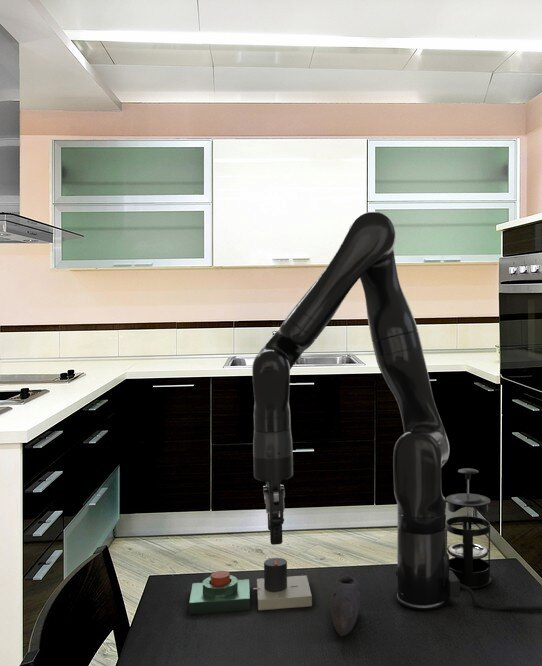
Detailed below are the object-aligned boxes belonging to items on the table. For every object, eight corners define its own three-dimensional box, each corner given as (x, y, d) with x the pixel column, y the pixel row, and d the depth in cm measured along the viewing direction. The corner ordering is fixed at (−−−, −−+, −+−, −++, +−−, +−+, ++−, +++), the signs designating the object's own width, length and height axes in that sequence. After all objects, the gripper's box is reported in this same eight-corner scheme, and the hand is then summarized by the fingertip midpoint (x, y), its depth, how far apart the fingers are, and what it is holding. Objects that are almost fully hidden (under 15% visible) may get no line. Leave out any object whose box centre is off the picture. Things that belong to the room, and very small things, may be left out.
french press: (492, 592, 133) (493, 476, 132) (444, 589, 134) (444, 475, 134) (489, 569, 145) (489, 463, 144) (444, 567, 146) (445, 461, 145)
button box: (249, 590, 135) (249, 570, 134) (249, 610, 126) (249, 588, 126) (192, 594, 133) (192, 574, 133) (189, 614, 124) (188, 593, 124)
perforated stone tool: (356, 645, 112) (355, 604, 112) (324, 644, 113) (324, 603, 113) (362, 605, 127) (362, 569, 127) (334, 604, 128) (334, 568, 128)
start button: (230, 578, 131) (229, 570, 131) (229, 586, 128) (229, 577, 128) (211, 580, 131) (211, 571, 131) (210, 587, 127) (210, 578, 127)
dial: (263, 583, 133) (263, 557, 133) (286, 581, 134) (285, 555, 133) (264, 593, 128) (264, 565, 128) (288, 591, 129) (287, 563, 129)
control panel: (306, 584, 137) (306, 574, 137) (311, 606, 127) (311, 595, 127) (252, 588, 135) (252, 578, 135) (253, 610, 125) (253, 599, 125)
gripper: (296, 459, 123) (298, 547, 124) (289, 444, 137) (291, 523, 138) (254, 462, 122) (256, 551, 122) (252, 446, 136) (254, 526, 136)
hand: (275, 536), depth 130 cm, fingers open, 8 cm apart
